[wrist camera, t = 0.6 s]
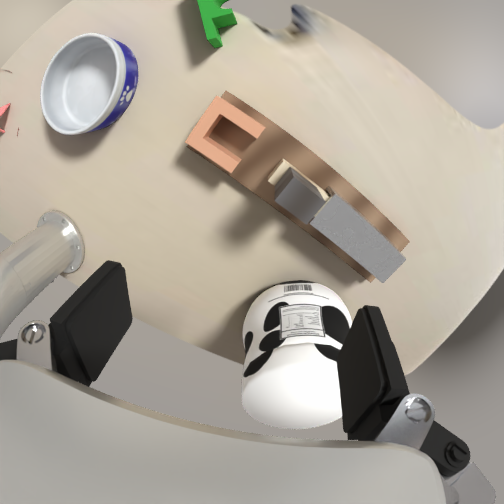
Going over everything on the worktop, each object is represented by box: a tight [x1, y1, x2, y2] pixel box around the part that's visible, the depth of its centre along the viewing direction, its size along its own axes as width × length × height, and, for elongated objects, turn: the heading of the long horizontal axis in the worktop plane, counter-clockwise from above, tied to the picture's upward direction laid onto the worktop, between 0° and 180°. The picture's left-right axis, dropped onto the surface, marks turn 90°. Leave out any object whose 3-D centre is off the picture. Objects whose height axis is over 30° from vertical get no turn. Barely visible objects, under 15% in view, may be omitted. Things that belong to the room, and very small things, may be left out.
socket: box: [185, 96, 266, 173], centre depth 32 cm, size 7×7×3 cm
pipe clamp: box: [197, 0, 237, 48], centre depth 25 cm, size 11×4×5 cm, turn 12°
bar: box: [268, 158, 331, 225], centre depth 32 cm, size 20×3×10 cm, turn 54°
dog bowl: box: [40, 33, 138, 135], centre depth 29 cm, size 15×15×6 cm
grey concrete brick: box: [309, 186, 406, 283], centre depth 36 cm, size 15×5×4 cm, turn 54°
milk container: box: [241, 280, 352, 429], centre depth 39 cm, size 17×17×18 cm
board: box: [187, 91, 410, 283], centre depth 37 cm, size 34×9×2 cm, turn 54°
